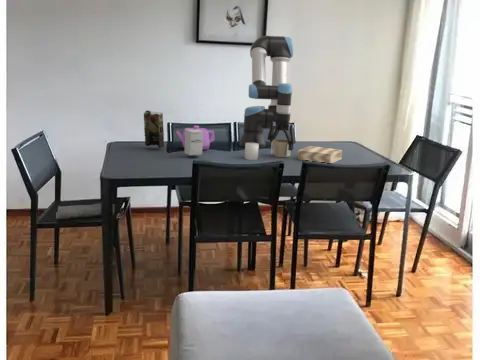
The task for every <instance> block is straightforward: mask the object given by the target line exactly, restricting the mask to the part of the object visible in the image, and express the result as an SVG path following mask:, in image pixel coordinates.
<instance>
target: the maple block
mask: <svg viewBox="0 0 480 360" xmlns="http://www.w3.org/2000/svg"><path fill="white" fill-rule="evenodd" d="M342 157H343V150H342V149H337V148H330V147H329V148H328V147H322V146H315V145H310V146H306V147H304V148H301V149H298V152H297V160H299V161H305V160H309V161H308V162H312V161H317V162H316V163H319V162H326V163H332V164H333V163H336V162H338V161H340V160H342ZM326 163H325V164H326Z"/></svg>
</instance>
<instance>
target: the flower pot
mask: <svg viewBox="0 0 480 360" xmlns="http://www.w3.org/2000/svg"><path fill="white" fill-rule="evenodd" d="M273 144H274V153H273V154H274V157H276V158H286V157H287V156H286V153H287V144H288V141H287V139H284V138H283V139H282V138H280V139H279V138H275V139H274V140H273Z"/></svg>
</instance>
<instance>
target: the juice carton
mask: <svg viewBox="0 0 480 360" xmlns="http://www.w3.org/2000/svg"><path fill="white" fill-rule="evenodd" d="M163 116H164V114H163V112H161V111H151V110H145V112H143V123H144V124H143V125H144V128H143V129H144V132H143V133H144V144H145V146H146V147H149V146H157V148H158V149H161V148H163V147H164V146H165V139H164V138H165V133H164V117H163Z"/></svg>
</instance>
